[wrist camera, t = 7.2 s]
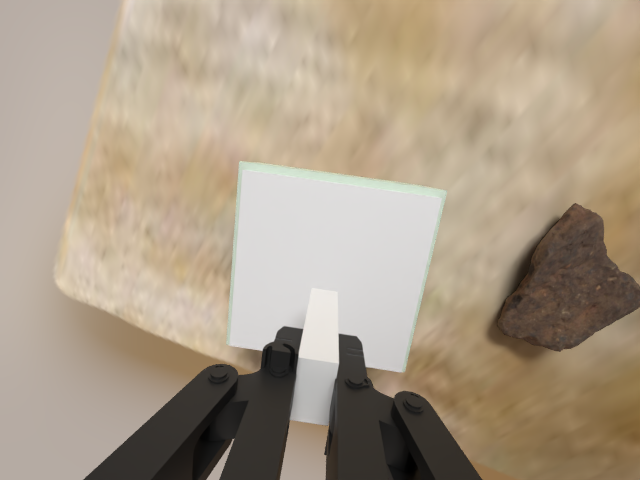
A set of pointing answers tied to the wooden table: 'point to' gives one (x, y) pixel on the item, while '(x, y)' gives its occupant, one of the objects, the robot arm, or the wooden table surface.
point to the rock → (569, 286)
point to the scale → (331, 256)
